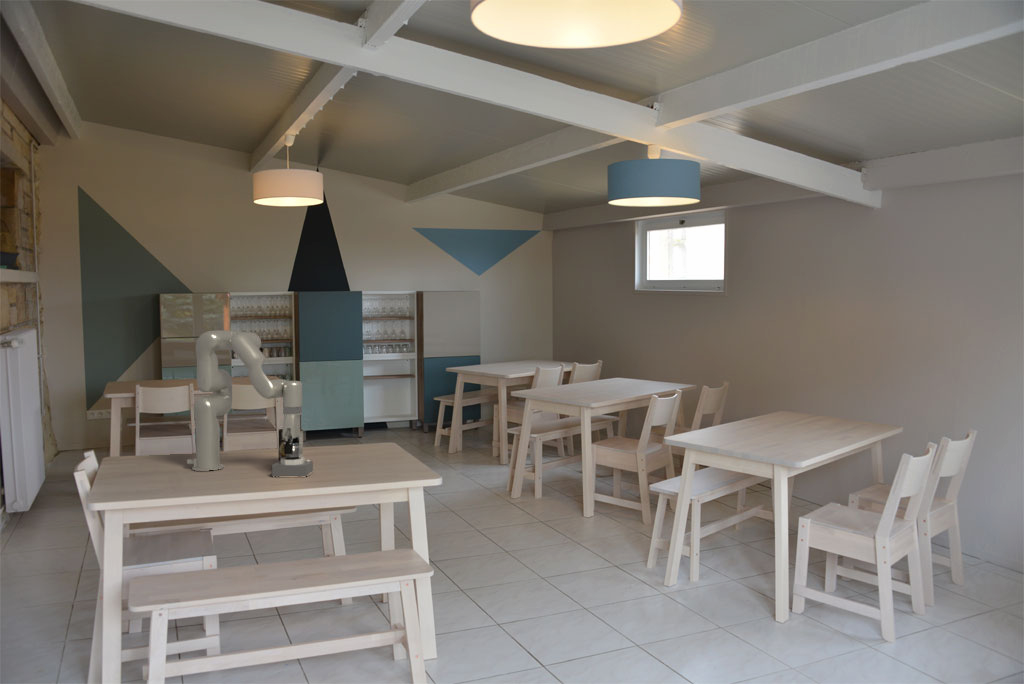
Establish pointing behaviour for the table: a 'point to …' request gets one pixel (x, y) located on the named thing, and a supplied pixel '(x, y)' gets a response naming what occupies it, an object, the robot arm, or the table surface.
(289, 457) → the lens
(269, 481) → the table surface
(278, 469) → the camera body
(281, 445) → the coffee box
